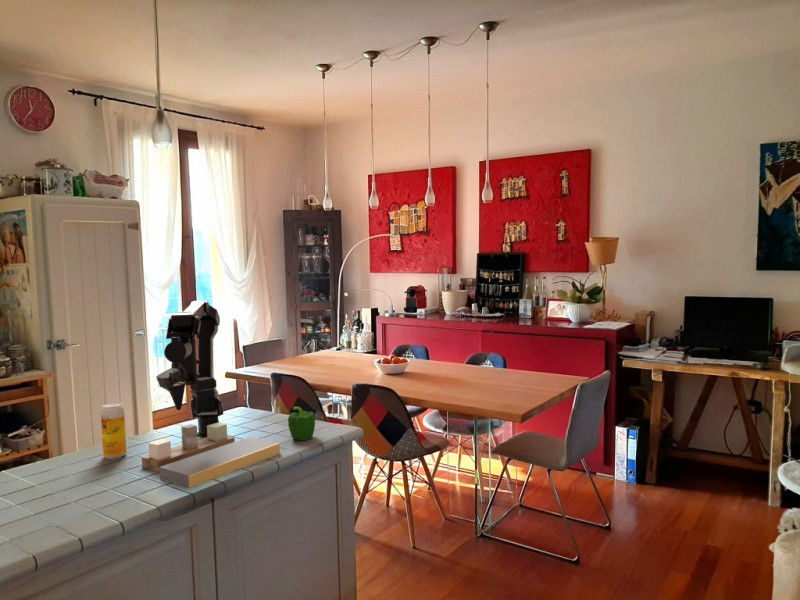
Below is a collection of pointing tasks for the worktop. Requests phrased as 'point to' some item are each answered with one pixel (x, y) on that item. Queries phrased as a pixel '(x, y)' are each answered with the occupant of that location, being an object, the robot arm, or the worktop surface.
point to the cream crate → (159, 449)
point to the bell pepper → (301, 424)
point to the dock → (219, 461)
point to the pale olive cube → (217, 431)
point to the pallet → (185, 448)
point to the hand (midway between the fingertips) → (188, 411)
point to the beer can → (113, 430)
